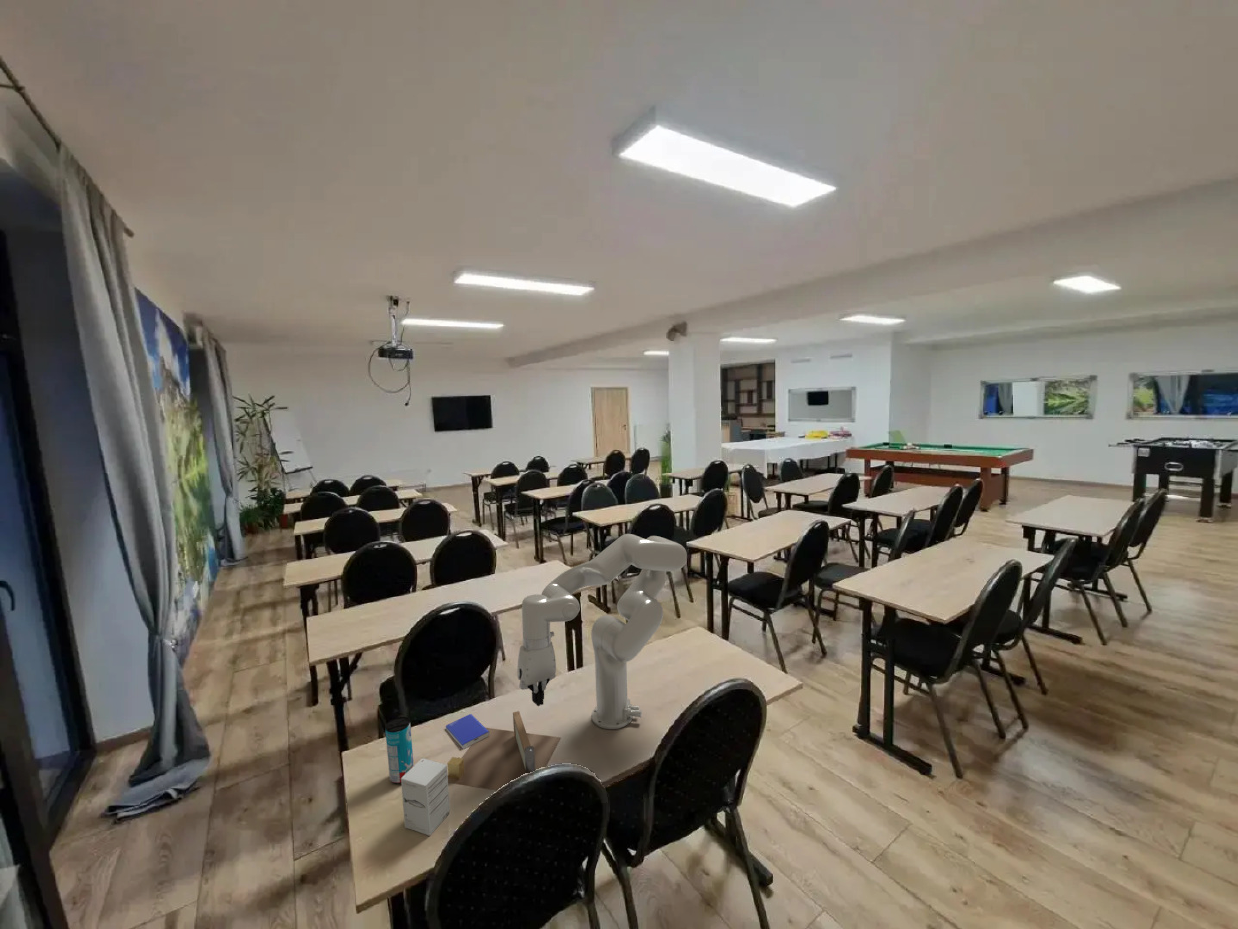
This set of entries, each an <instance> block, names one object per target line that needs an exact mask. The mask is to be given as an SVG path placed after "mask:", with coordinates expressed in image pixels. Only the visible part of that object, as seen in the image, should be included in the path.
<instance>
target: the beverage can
mask: <svg viewBox="0 0 1238 929" xmlns="http://www.w3.org/2000/svg"><path fill="white" fill-rule="evenodd" d="M384 729H385V741H386V752H387V753H386V754H387V761H388V764H387V765H388V774H389V781H390V782H391V784H394V785H402V784H401V778H402V777H403V776H404V775H405V774H406V773H407V772H408V771H409V770H410V769H411V768H412V767H413V766H415V764H414V753H413V741H412V728H411V720H410V718H409V717H406V716H398V717H394V718H393V719H390V720H389V721H388V722H387V723H386V724H385V726H384Z"/></svg>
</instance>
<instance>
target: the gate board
mask: <svg viewBox="0 0 1238 929" xmlns="http://www.w3.org/2000/svg"><path fill="white" fill-rule="evenodd" d="M485 728H486V729H487V730H488V731H489V733H490V735H489V736H488V737H486V738H484V739H482V740H480V741H478V742H476V743H475V744H473V745H471V746H469V747H468V749H467V750H466V752H464V754H463V755H462V756H461V758H462V759H464V774H463V776H462V777H461V778H460V779H454V778H448V784H455V785H460V786H461V785H462V786H465V787H466V786H467V787H474V788H479V789H480V788H481V789H485V790H491V791H497V790H498V789H499V788H501V787H502V786H503V785H505V784H507V783H509V782H510V781H511V780H514V779H516V778H518V777H520V776H521V775H523V774H525V773H526V770H525V766H524V763H523V760H522V756H521V753H520V750H519V746H518V743H517V740H516V738H515V736H514V730H505V729H499V728H492V727H491V728H490V727H485ZM526 733H527V736H528V739H529V742H530V745H531V746H533V747H534V755H535V770H536V769H539V768H541V767H545V768H546V767H547V765H548V764H549V761H550V760H551V758H552V756H553V754H554V752H555V751H556V748H557V746H558V745H559V742H561V741H560V740H561V739H562V737H561V736H560V737H559V736H551V735H543V734H537V733H536V734H535V733H530V732H526Z"/></svg>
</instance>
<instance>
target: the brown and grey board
mask: <svg viewBox="0 0 1238 929" xmlns="http://www.w3.org/2000/svg"><path fill="white" fill-rule="evenodd" d="M512 723H513V731H514V736H515V738H516V740H517V743H518V746H519V750H520V753H521V756H522V760H523V763H524V766H525V748H526V747H528V746H531V745H530V742H529V739H528V736H527V733H528V732H527V731H526V730H527V729H526V728H525V724H524V722H523V718H522V716H521V713H520V711H519V710H517V711H513V712H512ZM525 770H526V767H525Z"/></svg>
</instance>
